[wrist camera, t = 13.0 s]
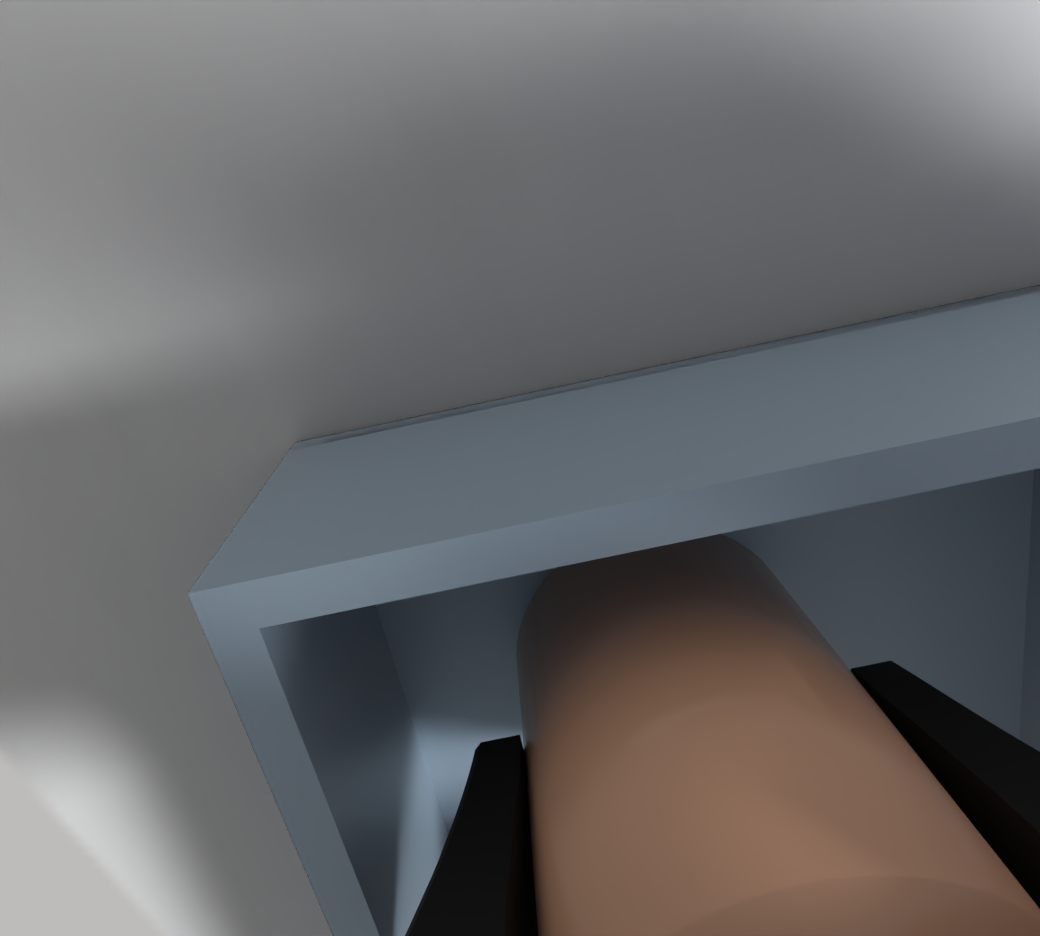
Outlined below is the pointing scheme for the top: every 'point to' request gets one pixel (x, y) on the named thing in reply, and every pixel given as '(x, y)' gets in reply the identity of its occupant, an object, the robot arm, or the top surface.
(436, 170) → the top surface
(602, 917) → the terracotta cylinder
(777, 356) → the tote
